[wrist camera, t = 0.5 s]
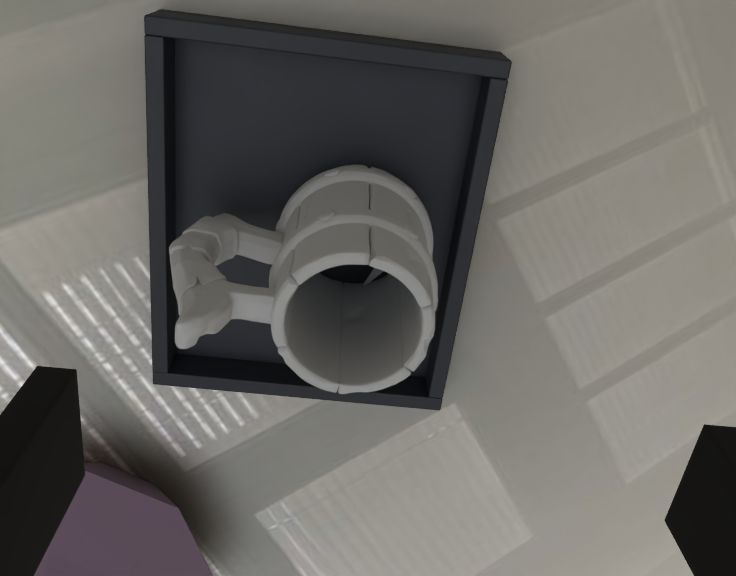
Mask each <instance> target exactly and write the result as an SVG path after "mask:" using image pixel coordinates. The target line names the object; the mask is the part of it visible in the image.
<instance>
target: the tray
mask: <svg viewBox="0 0 736 576" xmlns="http://www.w3.org/2000/svg"><path fill="white" fill-rule="evenodd" d="M144 22H145V34H146V35H145V75H146V117H147V158H148V199H149V241H150V282H151V324H152V365H153V384H158V385H169V386H180V387H191V388H202V389H212V390H223V391H234V392H245V393H256V394H267V395H278V396H289V397H300V398H311V399H322V400H333V401H343V402H354V403H365V404H376V405H387V406H398V407H409V408H420V409H431V410H440V409H441V404H442V397H443V394H444V389H445V384H446V379H447V374H448V369H449V365H450V360H451V355H452V350H453V345H454V340H455V335H456V331H457V326H458V321H459V316H460V311H461V306H462V302H463V297H464V292H465V287H466V282H467V277H468V272H469V268H470V263H471V258H472V253H473V248H474V243H475V238H476V234H477V229H478V224H479V219H480V214H481V209H482V204H483V200H484V195H485V190H486V185H487V180H488V175H489V170H490V166H491V161H492V156H493V151H494V146H495V141H496V137H497V132H498V127H499V122H500V117H501V112H502V107H503V103H504V98H505V93H506V88H507V83H508V80H507V79H508V78H509V73H510V69H511V64H512V62H511V60H509V59H508V58H507V57H506V56H504V55H503V54H502V53H501V52H496V51H488V50H480V49H472V48H464V47H456V46H448V45H441V44H433V43H425V42H417V41H409V40H401V39H393V38H385V37H377V36H369V35H361V34H353V33H345V32H337V31H329V30H321V29H313V28H305V27H298V26H290V25H282V24H274V23H266V22H258V21H250V20H242V19H234V18H226V17H218V16H210V15H202V14H194V13H186V12H178V11H170V10H163V9H160V10H157V11H156V12H153V13H150V14H147V15H145V17H144ZM345 165H365V166H367V167H368V168H371V167H374V168H378V169H381V170H384V171H386V172H388V173H390V174H391V175H393V176H395V177H396V178H398V179H400V180H401V181H402V182H404V183H405V184H406V185H408V186H409V187H410V188H411V189H412V190H413V191H414V192H415V194H416V195H417V196H418V197H419V199H420V200H421V202H422V203H423V205H424V207H425V209H426V211H427V213H428V216H429V219H430V222H431V226H432V232H433V253H432V257H433V258H432V260H433V263H434V267H435V271H436V276H437V283H438V303H437V309H436V311H435V331H434V336H433V338H432V339H431V341H430V343H429V346H428V349H427V354H426V357H425V358H424V360H423V361H422V362H421V363H420V365H419V366H418V367H417V368H416V370H415V371H414V372H413V371H412V370H411V374H410V376H408V377H407V378H406V379H404V380H403V381H401V382H399V383H397V384H395V385H392V386H389V387H387V388H384V389H381V390H378V391H372V392H352V393H347V394H340V393H338V390H337V392H336V393H334V392H330V391H326V390H323V389H320V388H318V387H315V386H313V385H311V384H309V383H308V382H306V381H304V380H303V379H301V378H300V377H299V376H298V375H297V374H296V373H295V372H294V371H293V370H292V369H291V368H290V367H289V366H288V365H287V364H286V363H285V361H284V358H283V357H282V356H281V355H280V354H279V353H278V347H277V346H276V344H275V342H274V340H273V337H272V331H271V324H268V323H261V322H255V321H249V320H243V319H231V320H230V321H229V322H228V323H227V324H226V325H225V326H224V327H223V328H222V329H221V330H220V331H219V332H218V333H216V334H205V335H203V336H200V337H199V338H198V340H197V343H196V344H195V345H194V346H192V347H190V348H187V349H180V348H178V347H177V345H176V344H175V325H176V322H177V320H178V319H179V317H180V315H179V310H178V303H177V298H176V295H175V292H174V289H173V280H172V273H171V264H170V254H169V247H170V245H171V243H172V242H173V241H174V240H176V239H177V238H179V237H180V236H182V234H183V232H184V231H185V230H186V229H188V228H189V227H190V226H192V225H193V224H195V223H196V222H197V221H198V220H200V219H201V218H203V217H205V216H210V217H215V216H217V215H221V214H223V213H227V214H231V215H233V216H236V217H237V218H239V219H240V220H242V221H244V222H246V223H248V224H250V225H253V226H256V227H259V228H262V229H266V230H270V231H274V232H275V230H276V225H277V222H278V221H279V220H280V216H281V214H282V211H283V209H284V207H285V205H286V204H287V202H288V200H289V199H290V198H291V196H292V195H293V194H294V193H295V192H296V191H297V190H298V189H299V188H300V187H301V186H302V185H303V184H304V183H305V182H307V181H308V180H310V179H311V178H313V177H314V176H316V175H318V174H320V173H322V172H325V171H327V170H330V169H333V168H337V167H340V166H345ZM216 267H217V269H218V270H219V271H220V273H221V274H223V275H224V276H225V277H226V279H227V281H228V282H231V283H236V284H241V285H248V286H253V287H264V288H269V274H270V269H271V267H272V265H271V264H266V263H263V262H260V261H257V260H254V259H251V258H248V257H244V256H241V255H235V256H234V257H233V258H231V259H228V260H226V261H224V262H222V263H221V264H219V265H217V266H216ZM373 269H374V267H371V266H369V265H340V266H335V267H331V268H328V269H326V270H323V271H321V272H319V273H321V274H322V275H324V276H326V277H327V278H329V279H332V280H336V281H341V282H343V284H344V283H345V282H346V283H353V284H360V283H364V282H365V281H366V279H367V278H368V276H369V275H370V273H371V272H372V270H373ZM388 274H389V273H387V272H385V271H383V272H382V273H381V274H380V275H378V276H377V277H376V278H375V279H373V280H372V281H375V280H378V279H380V278H382V277H384V276H386V275H388ZM372 281H371V282H372Z"/></svg>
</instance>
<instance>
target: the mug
mask: <svg viewBox="0 0 736 576" xmlns="http://www.w3.org/2000/svg"><path fill="white" fill-rule="evenodd" d="M432 253H433V232H432V226H431V222H430V219H429V216H428V213H427V211H426V209H425V207H424V205H423V203H422V202H421V200H420V199H419V197H418V196H417V195H416V194H415V192H414V191H413V190H412V189H411V188H410V187H409V186H408V185H406V184H405V183H404V182H402V181H401V180H400V179H398V178H396V177H395V176H393V175H391V174H390V173H388V172H386V171H384V170H381V169H378V168H374V167H371V168H368V167H367V166H365V165H345V166H340V167H337V168H333V169H330V170H327V171H325V172H322V173H320V174H318V175H316V176H314V177H313V178H311V179H310V180H308V181H307V182H305V183H304V184H303V185H302V186H301V187H300V188H299V189H298V190H297V191H296V192H295V193H294V194H293V195H292V196H291V198H290V199H289V200H288V202H287V204H286V205H285V207H284V209H283V211H282V214H281V216H280V220H279V221H278V222H277V225H276V230H275V232H274V231H270V230H266V229H262V228H259V227H256V226H253V225H250V224H248V223H246V222H244V221H242V220H240V219H239V218H237V217H236V216H233V215H231V214H227V213H223V214H221V215H217V216H215V217H210V216H205V217H203V218H201V219H200V220H198V221H197V222H196V223H195V224H193V225H192V226H190V227H189V228H188V229H186V230H185V231H184V232H183V234H182V236H180V237H179V238H177V239H176V240H174V241H173V242H172V243H171V245H170V247H169V254H170V264H171V273H172V280H173V289H174V292H175V295H176V298H177V303H178V310H179V315H180V317H179V319H178V320H177V322H176V325H175V344H176V345H177V347H178V348H180V349H187V348H190V347H192V346H194V345H195V344H196V343H197V340H198V338H199V337H200V336H203V335H205V334H216V333H218V332H219V331H220V330H221V329H222V328H223V327H224V326H225V325H226V324H227V323H228V322H229V321H230V320H231V319H243V320H249V321H255V322H261V323H268V324H271V331H272V337H273V340H274V342H275V344H276V346H277V347H278V353H279V354H280V355H281V356H282V357H283V358H284V361H285V363H286V364H287V365H288V366H289V367H290V368H291V369H292V370H293V371H294V372H295V373H296V374H297V375H298V376H299V377H300V378H301V379H303V380H304V381H306V382H308V383H309V384H311V385H313V386H315V387H318V388H320V389H323V390H326V391H330V392H334V393H336V392H337V390H338V393H340V394H347V393H352V392H372V391H378V390H381V389H384V388H387V387H389V386H392V385H395V384H397V383H399V382H401V381H403V380H404V379H406V378H407V377H408V376H410V374H411V370H412V371H413V372H414V371H415V370H416V368H417V367H418V366H419V365H420V363H421V362H422V361H423V360H424V358H425V357H426V354H427V349H428V346H429V343H430V341H431V339H432V338H433V336H434V331H435V311H436V309H437V303H438V283H437V276H436V271H435V267H434V263H433V260H432V258H433V257H432ZM235 255H241V256H244V257H248V258H251V259H254V260H257V261H260V262H263V263H266V264H271V265H272V267H271V269H270V274H269V288H264V287H253V286H248V285H241V284H236V283H231V282H228V281H227V279H226V277H225V276H224V275H223V274H221V273H220V271H219V270H218V269H217V267H216V266H217V265H219V264H221V263H222V262H224V261H226V260H228V259H231V258H233V257H234V256H235ZM340 265H369V266H371V267H374V269H373V270H372V272H371V273H370V275H369V276H368V278H367V279H366V281H365V282H364V283H360V284H353V283H346V282H345V283H344V284H343V282H341V281H336V280H332V279H329V278H327V277H326V276H324V275H322V274H321V273H319V272H321V271H323V270H326V269H328V268H331V267H335V266H340ZM383 271H385V272H387V273H389V274H388V275H386V276H384V277H382V278H380V279H378V280H375V281H372V280H373V279H375V278H376V277H377V276H378V275H380V274H381V273H382V272H383ZM371 281H372V282H371Z"/></svg>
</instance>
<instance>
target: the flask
mask: <svg viewBox="0 0 736 576" xmlns="http://www.w3.org/2000/svg"><path fill="white" fill-rule="evenodd" d="M84 468H85V476H84V478H83V480H82V482H81V484H80V486H79V488H78V490H77V492H76V494H75V496H74V498H73V500H72V502H71V504H70V506H69V508H68V510H67V512H66V514H65V516H64V518H63V520H62V522H61V523H60V525H59V527H58V529H57V531H56V533H55V535H54V537H53V539H52V541H51V543H50V545H49V547H48V549H47V551H46V553H45V555H44V557H43V559H42V561H41V563H40V565H39V567H38V569H37V570H36V572H35V574H34V576H213V575H212V573H211V571H210V569H209V567H208V565H207V563H206V561H205V559H204V557H203V555H202V553H201V551H200V549H199V547H198V545H197V543H196V541H195V539H194V537H193V536H192V534H191V532H190V530H189V528H188V526H187V524H186V522H185V520H184V518H183V516H182V514H181V512H180V510H179V508H178V507H177V506H176V505H175V504H174V503H173V502H172V501H171V500H170V499H169V498H168V497H167V496H165V495H164V494H163V493H162V492H161V491H160V490H159V489H158V488H157V487H156V486H155V485H154V484H153V483H151V482H148V481H146V480H143V479H141V478H138V477H136V476H133V475H131V474H129V473H126V472H124V471H121V470H119V469H116V468H114V467H111V466H109V465H107V464H104V463H102V462H90V463H84Z"/></svg>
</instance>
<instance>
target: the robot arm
mask: <svg viewBox="0 0 736 576" xmlns="http://www.w3.org/2000/svg"><path fill="white" fill-rule="evenodd" d="M84 476H85V468H84V456H83V444H82V432H81V420H80V408H79V396H78V384H77V372H76V369H65V368H53V367H42V366H37V367H36V368H35V370H34V371H33V372H32V374H31V375H30V376H29V378H28V379H27V380H26V382H25V383H24V384H23V386H22V387H21V388H20V390H19V391H18V392H17V394H16V395H15V396H14V398H13V399H12V400H11V402H10V403H9V404H8V405H7V407H6V408H5V409H4V411H3V412H2V413H1V415H0V576H34V574H35V572H36V570H37V569H38V567H39V565H40V563H41V561H42V559H43V557H44V555H45V553H46V551H47V549H48V547H49V545H50V543H51V541H52V539H53V537H54V535H55V533H56V531H57V529H58V527H59V525H60V523H61V522H62V520H63V518H64V516H65V514H66V512H67V510H68V508H69V506H70V504H71V502H72V500H73V498H74V496H75V494H76V492H77V490H78V488H79V486H80V484H81V482H82V480H83V478H84ZM665 522H666V524H667V526H668V528H669V530H670V532H671V533H672V535H673V537H674V539H675V541H676V543H677V545H678V546H679V548H680V550H681V552H682V554H683V556H684V558H685V560H686V561H687V563H688V565H689V567H690V569H691V571H692V573H693V574H694V576H736V427H726V426H714V425H704V426H703V428H702V431H701V433H700V436H699V438H698V440H697V443H696V445H695V448H694V450H693V453H692V455H691V457H690V460H689V462H688V465H687V467H686V470H685V472H684V474H683V477H682V479H681V482H680V484H679V487H678V489H677V491H676V494H675V496H674V499H673V501H672V504H671V506H670V508H669V511H668V513H667V516H666V518H665Z"/></svg>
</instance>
